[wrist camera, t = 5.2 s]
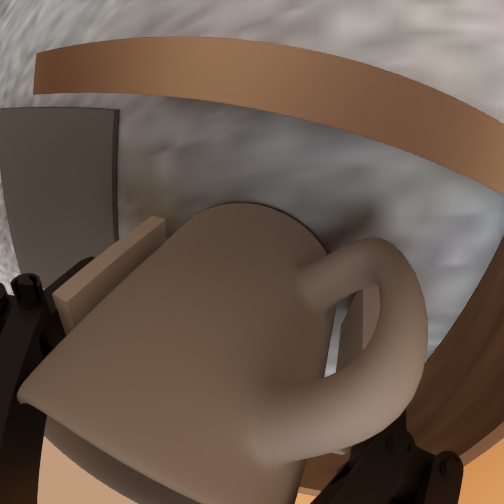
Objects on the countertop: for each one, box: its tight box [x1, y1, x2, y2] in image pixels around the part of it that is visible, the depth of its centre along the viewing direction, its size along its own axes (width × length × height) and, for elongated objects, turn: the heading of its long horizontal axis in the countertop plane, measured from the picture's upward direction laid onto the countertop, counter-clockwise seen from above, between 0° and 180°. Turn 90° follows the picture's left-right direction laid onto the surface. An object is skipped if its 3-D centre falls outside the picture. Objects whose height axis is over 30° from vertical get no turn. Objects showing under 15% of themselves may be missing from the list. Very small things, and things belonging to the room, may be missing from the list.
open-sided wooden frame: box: [33, 37, 504, 496], centre depth 11 cm, size 18×17×7 cm
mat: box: [0, 107, 119, 289], centre depth 18 cm, size 13×15×1 cm
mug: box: [17, 203, 428, 504], centre depth 10 cm, size 12×8×11 cm
